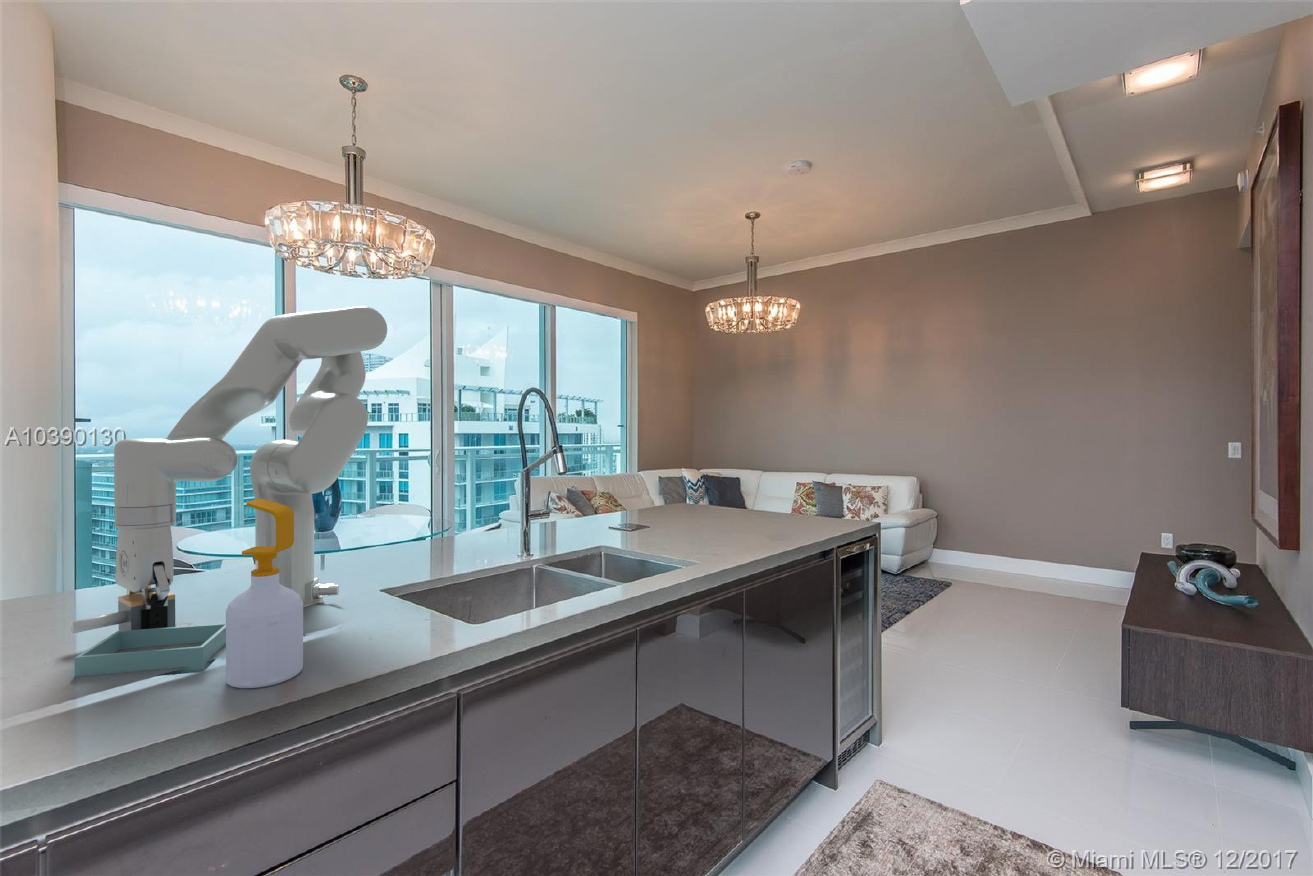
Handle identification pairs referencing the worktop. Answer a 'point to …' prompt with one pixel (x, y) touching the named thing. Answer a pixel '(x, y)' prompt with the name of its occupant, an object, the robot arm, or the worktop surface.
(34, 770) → the worktop surface
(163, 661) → the bin
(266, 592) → the soap bottle
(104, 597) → the worktop surface
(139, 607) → the grey block with cylinder
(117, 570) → the robot arm
